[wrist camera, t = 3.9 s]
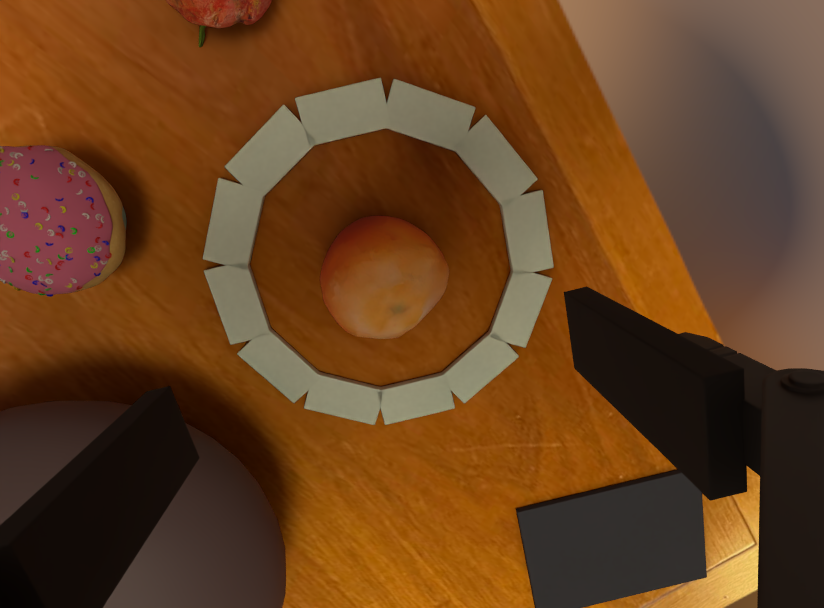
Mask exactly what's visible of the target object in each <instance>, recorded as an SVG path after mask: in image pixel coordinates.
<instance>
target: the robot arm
mask: <svg viewBox="0 0 824 608" xmlns="http://www.w3.org/2000/svg"><path fill="white" fill-rule="evenodd" d="M564 296H565V303H566V311H567V318H568V325H569V332H570V340H571V347H572V354H573V361H574V368H575V369H576V370H577V371H578V372H579V373H580V374H581V375H582V376H583V377H584V378H585V379H586V380H587V381H588V382H589V383H590V384H591V385H592V386H593V387H594V388H595V389H596V390H597V391H598V392H599V393H600V394H601V395H602V396H603V397H604V398H605V399H607V400H608V401H609V402H610V403H611V404H612V405H613V406H614V407H615V408H616V409H617V410H618V411H619V412H620V413H621V414H622V415H623V416H624V417H625V418H626V419H627V420H628V421H629V422H630V423H631V424H632V425H633V426H634V427H635V428H636V429H637V430H638V431H639V432H640V433H641V434H642V435H643V436H644V437H645V438H647V439H648V440H649V441H650V442H651V443H652V444H653V445H654V446H655V447H656V448H657V449H658V450H659V451H660V452H661V453H662V454H663V455H664V456H665V457H666V458H667V459H668V460H669V461H670V462H671V463H672V464H673V465H674V466H675V467H676V468H677V469H678V470H679V471H680V472H681V473H682V474H683V475H684V476H686V477H687V478H688V479H689V480H690V481H691V482H692V483H693V484H694V485H695V486H696V487H697V488H698V489H699V490H700V491H701V492H702V493H703V494H704V495H705V496H706V497H707V498H708V499H709V500H714V499H718V498H723V497H727V496H731V495H735V494H739V493H743V492H747V469H746V465H747V466H748V467H749V468H751V469H752V470H753V471H754V472H756V473H757V474H758V475H759V476H760V513H759V561H758V608H824V371H821V370H813V369H784V370H778V371H776V370H774V369H772V368H770V367H768V366H766V365H764V364H762V363H759V362H758V361H755V360H753V359H751V358H749V357H747V356H745V355H743V354H741V353H738V354H737V351H735V350H732V349H730V348H729V347H724V346H723V345H722V344H720V343H718V342H716V341H714V340H712V339H710V338H708V337H704V336H700V335H695V334H691V333H687V332H685V333H681V334H677V333H675V332H673V331H671V330H669V329H667V328H665V327H663V326H661V325H659V324H657V323H656V322H654V321H652V320H650V319H648V318H646V317H644V316H642V315H640V314H638V313H636V312H634V311H633V310H631V309H629V308H627V307H625V306H623V305H621V304H619V303H617V302H615V301H613V300H611V299H610V298H608V297H606V296H604V295H602V294H600V293H598V292H596V291H594V290H592V289H590V288H588V287H583V288H579V289H575V290H571V291H567V292H564ZM199 458H200V457H199V455H198V452H197V450H196V448H195V445H194V443H193V440H192V438H191V436H190V433H189V431H188V428H187V426H186V423H185V421H184V419H183V416H182V414H181V411H180V409H179V407H178V404H177V402H176V399H175V397H174V394H173V392H172V390H171V387H170V386H168V387H163V388H159V389H155V390H151V391H147V392H146V393H145V394H144V395H142V396H141V397H140V398H139V399H138V400H137V401H136V402H135V403H134V404H133V405H131V406H130V407H129V408H128V409H127V410H126V411H125V412H124V413H123V414H122V415H121V416H119V417H118V418H117V419H116V420H115V421H114V422H113V423H112V424H111V425H110V426H108V427H107V428H106V429H105V430H104V431H103V432H102V433H101V434H100V435H99V436H97V437H96V438H95V439H94V440H93V441H92V442H91V443H90V444H89V445H88V446H87V447H85V448H84V449H83V450H82V451H81V452H80V453H79V454H78V455H77V456H76V457H74V458H73V459H72V460H71V461H70V462H69V463H68V464H67V465H66V466H65V467H63V468H62V469H61V470H60V471H59V472H58V473H57V474H56V475H55V476H54V477H53V478H51V479H50V480H49V481H48V482H47V483H46V484H45V485H44V486H43V487H42V488H40V489H39V490H38V491H37V492H36V493H35V494H34V495H33V496H32V497H31V498H29V499H28V500H27V501H26V502H25V503H24V504H23V505H22V506H21V507H20V508H19V509H17V510H16V511H15V512H14V513H13V514H12V515H11V516H10V517H9V518H8V519H6V520H5V521H4V522H3V523H2V524H1V525H0V608H103V607H104V605H105V604H106V602H107V600H108V599H109V597H110V596H111V594H112V593H113V591H114V590H115V588H116V587H117V585H118V583H119V582H120V580H121V579H122V577H123V576H124V574H125V573H126V571H127V570H128V568H129V566H130V565H131V563H132V562H133V560H134V559H135V557H136V556H137V554H138V553H139V551H140V549H141V548H142V546H143V545H144V543H145V542H146V540H147V539H148V537H149V536H150V534H151V532H152V531H153V529H154V528H155V526H156V525H157V523H158V522H159V520H160V519H161V517H162V515H163V514H164V512H165V511H166V509H167V508H168V506H169V505H170V503H171V501H172V500H173V498H174V497H175V495H176V494H177V492H178V491H179V489H180V488H181V486H182V484H183V483H184V481H185V480H186V478H187V477H188V475H189V474H190V472H191V471H192V469H193V467H194V466H195V464H196V463H197V461H198V460H199Z"/></svg>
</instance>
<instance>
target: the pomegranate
mask: <svg viewBox="0 0 824 608" xmlns="http://www.w3.org/2000/svg"><path fill="white" fill-rule="evenodd" d="M166 1H167V3H168V4H169V5H170V6H172V7H173V8H175V9H176V10H177V11H178V12H179V13H180V14H181V15H182V16H183V17H184V18H185V19H186V20H187V21H189V22H191V23H194V24H198V25H200V30H199V47H202V46H203V42H204V38H205V28H206V26H209V27H214V28H224V27H230V26H232V25H234V24H235V23H239V22H242V23H244V24H246V25H250V24H254V23H255V22H256V21H258V20H259V19H260V18H261V17H262V16H263V14H264V13H265V12H266V10H267V9H268V7H269V6H270V3H271V1H272V0H166Z"/></svg>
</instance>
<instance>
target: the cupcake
mask: <svg viewBox="0 0 824 608" xmlns="http://www.w3.org/2000/svg"><path fill="white" fill-rule="evenodd" d="M125 240H126V214H125V211H124V208H123V206H122V202H121V200H120V198H119V196H118V195H117V193H116V191H115V190H114V188H113V187H112V186H111V185H110V184H109V182H108V181H107V180H106V179H105V178H104V177H103V176H102V175H101V174H99V173H98V172H97V171H95V170H94V169H93V168H92V167H90V166H89V165H88V164H86V163H85V162H83V161H82V160H81V159H79V158H78V157H76V156H75V155H73V154H72V153H70V152H69V151H67V150H65V149H63V148H60V147H55V146H20V147H9V146H3V147H1V146H0V280H1V281H2V282H3V283H4V284H6V283H8V284H10V285H11V286H14V289H16V288H17V289H16V290H18V291H19V290H21V289H22V290H25V291H27V292H31V293H36V294H40V295H45V294H46V295H47V296H53V294H64V293H72V292H76V291H80V290H84V289H87V288H90V287H93V286H96V285H98V284H100V283H101V282H103V281H104V280H105V279H106V278H107V277H108V276H109V275H110V274H111V273H113V272H114V271H115V270H116V269H117V268H118V267H119V265H120V264H121V262H122V260H123V257H124V254H125ZM18 288H19V289H18Z"/></svg>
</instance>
